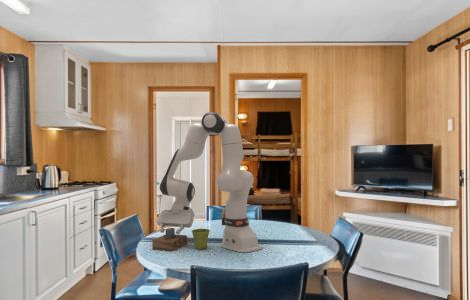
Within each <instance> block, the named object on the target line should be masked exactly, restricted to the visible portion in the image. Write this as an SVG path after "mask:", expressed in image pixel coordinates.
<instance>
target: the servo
mask: <svg viewBox="0 0 470 300" xmlns="http://www.w3.org/2000/svg"><path fill="white" fill-rule="evenodd" d="M175 230H176V227H175V228H174V227H171V226H167V228H165V235H166V237H165V238H164V239H172V238H175V236H176V235H177V234H176V231H175ZM175 234H176V235H175Z"/></svg>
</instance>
